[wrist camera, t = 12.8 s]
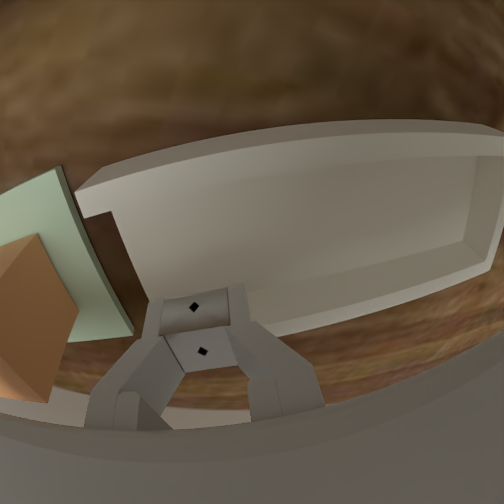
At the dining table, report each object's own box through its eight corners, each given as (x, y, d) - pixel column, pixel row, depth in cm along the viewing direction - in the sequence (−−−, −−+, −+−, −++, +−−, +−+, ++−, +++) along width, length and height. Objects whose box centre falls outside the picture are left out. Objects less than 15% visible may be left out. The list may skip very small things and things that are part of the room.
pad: (60, 165, 10) (54, 168, 10) (134, 328, 15) (132, 335, 15) (-46, 221, 10) (-51, 226, 9) (24, 339, 15) (21, 345, 15)
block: (37, 232, 11) (-28, 320, 6) (79, 310, 13) (47, 403, 8) (-17, 253, 11) (-70, 325, 6) (23, 318, 13) (-11, 394, 8)
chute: (481, 124, 11) (518, 138, 9) (463, 245, 16) (489, 270, 13) (102, 166, 10) (74, 192, 8) (160, 314, 15) (155, 357, 13)
